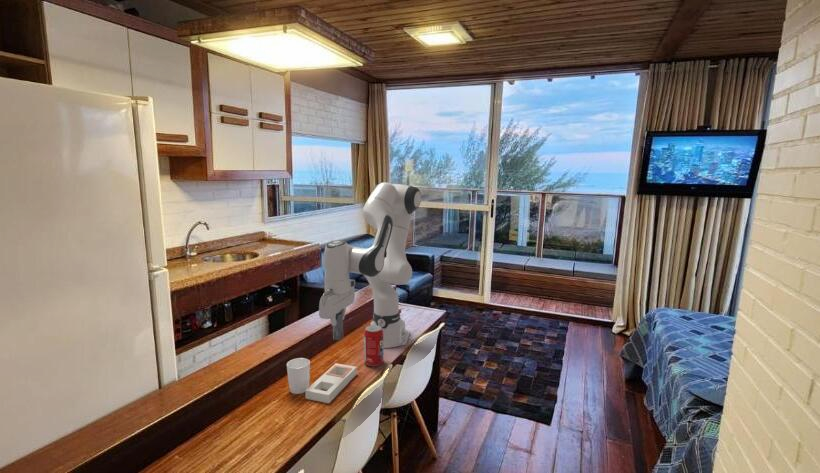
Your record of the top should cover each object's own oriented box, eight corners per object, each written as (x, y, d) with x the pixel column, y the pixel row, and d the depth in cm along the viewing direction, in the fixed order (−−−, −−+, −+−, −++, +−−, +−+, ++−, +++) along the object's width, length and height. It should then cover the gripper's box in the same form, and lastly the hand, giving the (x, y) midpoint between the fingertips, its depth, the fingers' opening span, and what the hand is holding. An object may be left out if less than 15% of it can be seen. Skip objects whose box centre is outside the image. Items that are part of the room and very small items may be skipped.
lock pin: (335, 335, 152) (335, 306, 151) (346, 336, 151) (345, 307, 149) (329, 339, 148) (329, 310, 146) (340, 341, 147) (340, 311, 145)
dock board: (335, 370, 159) (335, 362, 158) (356, 374, 156) (356, 366, 155) (305, 398, 139) (305, 389, 139) (328, 403, 136) (328, 394, 136)
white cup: (315, 385, 148) (314, 359, 146) (302, 397, 140) (301, 369, 139) (296, 381, 150) (295, 356, 148) (283, 392, 143) (281, 366, 141)
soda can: (360, 363, 165) (359, 328, 162) (374, 356, 170) (374, 322, 168) (373, 369, 160) (372, 333, 157) (387, 363, 165) (387, 327, 163)
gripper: (330, 294, 136) (331, 334, 138) (357, 279, 155) (357, 314, 157) (313, 292, 138) (315, 331, 140) (342, 278, 157) (343, 312, 159)
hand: (337, 322), depth 149 cm, fingers closed on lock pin, 4 cm apart
